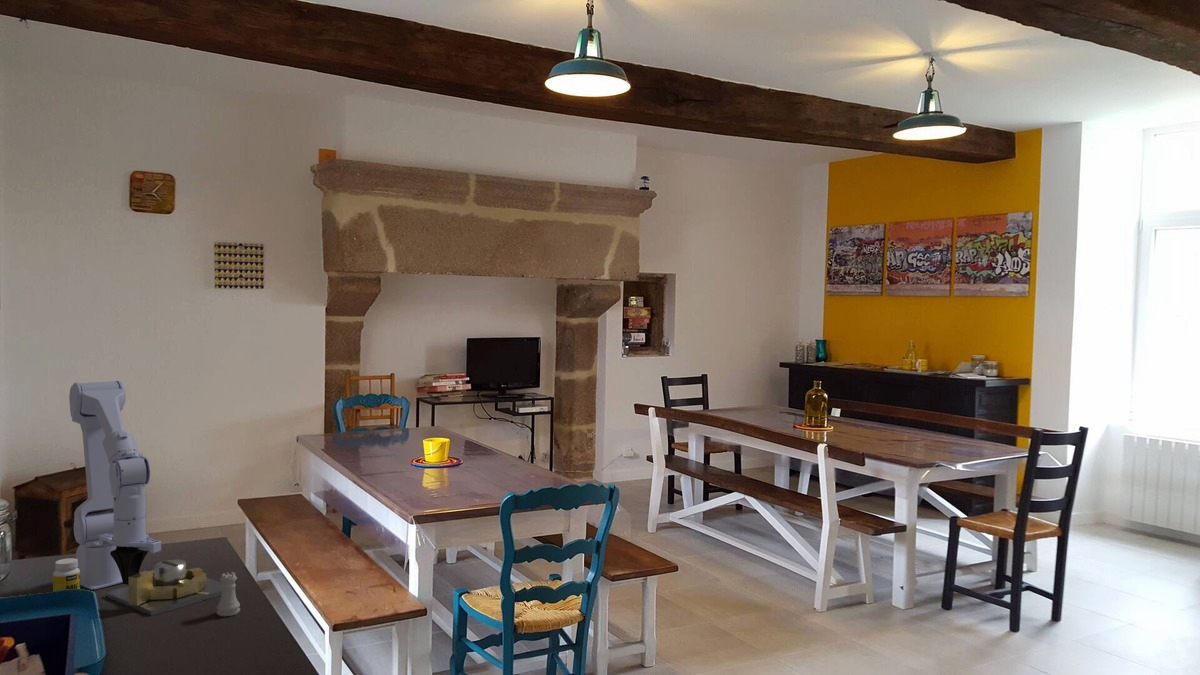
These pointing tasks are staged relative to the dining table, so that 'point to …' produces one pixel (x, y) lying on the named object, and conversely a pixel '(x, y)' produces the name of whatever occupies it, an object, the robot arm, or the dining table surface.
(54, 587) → the supplement bottle
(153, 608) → the flange plate
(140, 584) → the tan hexagonal frame
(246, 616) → the dining table surface
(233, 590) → the rook chess piece
